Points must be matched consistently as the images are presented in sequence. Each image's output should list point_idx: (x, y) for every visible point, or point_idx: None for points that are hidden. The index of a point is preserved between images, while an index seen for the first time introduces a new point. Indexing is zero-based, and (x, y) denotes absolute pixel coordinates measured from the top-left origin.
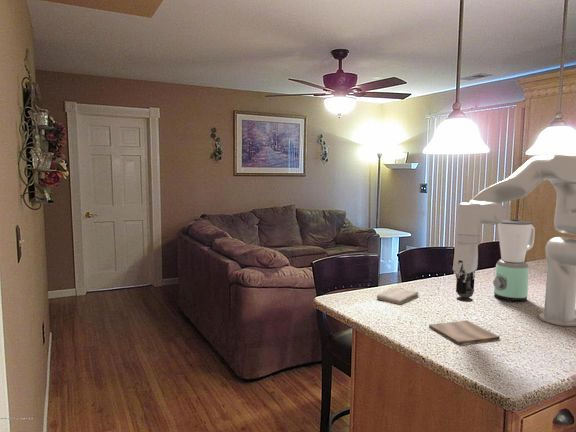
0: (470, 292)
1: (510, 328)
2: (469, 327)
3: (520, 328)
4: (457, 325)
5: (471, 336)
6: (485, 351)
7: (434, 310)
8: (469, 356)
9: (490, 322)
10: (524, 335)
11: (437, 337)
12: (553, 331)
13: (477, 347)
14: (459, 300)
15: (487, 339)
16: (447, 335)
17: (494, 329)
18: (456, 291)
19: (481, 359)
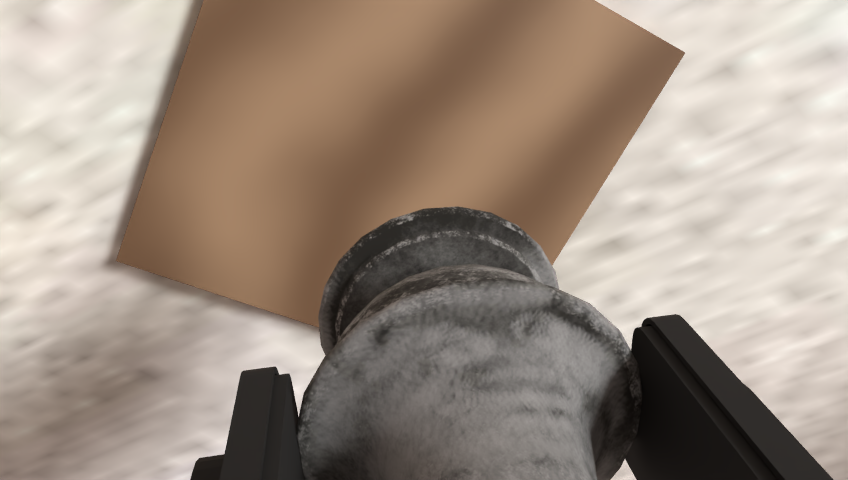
0: None
1: (751, 318)
2: (511, 158)
3: (790, 354)
4: (482, 58)
5: (320, 266)
6: (195, 404)
7: None
8: (12, 388)
9: (808, 174)
10: None
11: (99, 46)
12: (840, 471)
13: (212, 347)
14: (320, 306)
15: None
16: (161, 126)
17: (660, 262)
18: (241, 383)
19: (48, 445)
